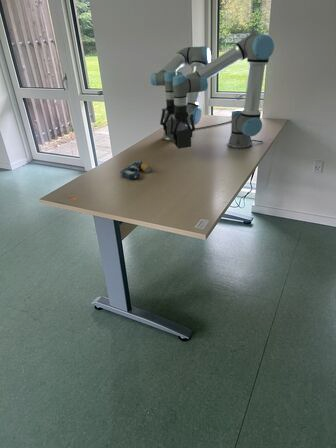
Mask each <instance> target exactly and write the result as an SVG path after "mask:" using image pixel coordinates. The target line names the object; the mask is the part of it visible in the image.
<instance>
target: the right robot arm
mask: <svg viewBox="0 0 336 448" xmlns="http://www.w3.org/2000/svg"><path fill="white" fill-rule="evenodd" d="M274 50H275V42H274V40H273V38H272V37H271V36H270V35H267V34H265V33H260V34H259V33H258V34H257V33H252V34H250V35H248V36H246V37H244V38H243V39H241V40H239V41H238V42H237V43H235V44H234V45H233V47H232V48H231V49H229V50H228V51H227V50H226V51H225V52H224V53H223V54H221V55H219V56H217V57H216V58H214V59H213V60H211V62H210V63H208V64H206V65H205V66H203V67H202V68H200V69H198V70H197V71H195V72H194V73H192V74H191V73H188V74H185V75H177V76H174V77H173V93H174V105H175V106H174V109H175V115H174V116H170V131H169V133H170V134H173V140H175V144H174V145H175V147H177V135H176V134H175V133H176V130H177V127H178V124H179V122H182V121H183V122H184V121H185V123H186V126H187V127H188V128H189V129H190V132H191V138H193V133H194V131H196V129H195V128H196V127H195V126H196V125H194V121H193V114H192V113H190V114H188V107H187V105H186V104H187V93H192V92H200V93H202V92H205V91H207V90H208V88H209V79H211V78H212V77H214V76H216V75H217V74H219V73H221V72H222V71H225V70H226V69H227V68H229V67H230V66H232V65H234V64H235V63H237V62H238V61H239V62H242V61H244V60H245V59H246V63H247V64H248V74H247V81H246V90H245V97H244V106H243V108H238V109H237V108H236V109H233V110H232V111H231V120H232V122H230V123H231V127H230V128H231V131H230V136H229V139H228V141H227V142H228V143H227V146H228V147H229V148H234V149H245V148H249V147H251V146H252V145H253V144H252V143H253V142H257V143H263V140H256V139H252V137H254V136H257V135H258V134H259V133H260V132H261V130H262V127H263V122H262V120H261V115H262V112H261V111H260V105H261V95H262V89H263V82H264V74H265V68H266V66H267V65H268V63H269V60H270V57H271V56H272V55H273V53H274ZM188 116H189V117H190V121H191V125H189V123H188V121H187V117H188ZM174 118H176V123H175V126H174V129H173V120H174ZM172 131H173V132H172Z"/></svg>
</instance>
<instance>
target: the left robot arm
mask: <svg viewBox="0 0 336 448" xmlns="http://www.w3.org/2000/svg"><path fill="white" fill-rule="evenodd" d="M211 61H212V54H211V50H210V48H209V46H205V45H204V46H203V45H202V46H188V47H184V48H182V49H180V50H178V51H177V52H176V53H175V54H174V55H173V56H172V58H171V60H170V61H169V62H168V63H166V65H164V67H162V68H161V69H160V70H159V71H158V72H153V73H151V75H150V79H149V80H150V84H151V85H152V86H154V87H155V86H157V87H162V86H164V91H165V99H166V100H165V105H166V106H165V107H164V108H161V116H160V120H159V121H160V122H159V125H161V126H162V128H163V129H162V130H163V135H162V139H163V140H164V141H167V142H172V141H171V139H170V138H169V137H168V135H167V120H170V116H174V115H175V109H174V106H175V105H174V93H173V77H174V76H177V75H185V76H186V74H185V73H184V72H183V71H178V70H179V69H181V68H183V67H186V66H189V67H190V69H191V71H190V74H192V73H194V72H195V71H197V70H198V69H200V68H202V67H203V66H205V65H206V64H208V63H210V62H211ZM200 94H201V92H192V93H187V104H186V105H187V107H188V114H190V113H192V114H193V121H194V126H196V125H197V124H199V122H200V121H201V118H202V109H201V107H200V105H199V99H200ZM174 119H176V118H174ZM187 121H188V123H189V125H190V126H191V121H190V117H189V116H188V117H187ZM182 123H184V124H185V125H186V123H185V121H184V122H183V121H182ZM229 123H232V119H231V120H228V121H225V122H221V123H216V124H211V125H207V126H205V125H204V126H200V127H195V130H200V129H205V128H210V127H216V126H222V125H226V124H229ZM186 126H187V125H186Z"/></svg>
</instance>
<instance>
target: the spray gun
mask: <svg viewBox="0 0 336 448" xmlns="http://www.w3.org/2000/svg"><path fill="white" fill-rule="evenodd" d="M140 169H141V170H142V172H143V171H144V172H145V173H147V174H149V173H150V172H152V166H150V165H149V164H147V162H143V161H142V160H133V161H132V162H131V163H130V164H129V165H127V166H126V167H125V168H123V169H122V170H121V171H120V172H119V177H122V178H127V179H129V180H134V179H138V178H139V177H141V172H140Z"/></svg>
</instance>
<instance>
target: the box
mask: <svg viewBox="0 0 336 448" xmlns="http://www.w3.org/2000/svg"><path fill="white" fill-rule="evenodd" d="M175 123H176V119H174V120H173V129H174V126H175ZM169 131H170V120H167V135H168V137H169V138H170V139H171V141H170V142H172V143H173V144H174V145H175V140H173V134H170V133H169ZM172 132H173V131H172ZM175 134H176V135H177V146H176V148H177V150H178V149H187V148H191V147H192V137H191V132H190V129H189V128H188V127H187V125H185V124H184V123H182V122H179V124H178V127H177V130H176V133H175Z"/></svg>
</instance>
